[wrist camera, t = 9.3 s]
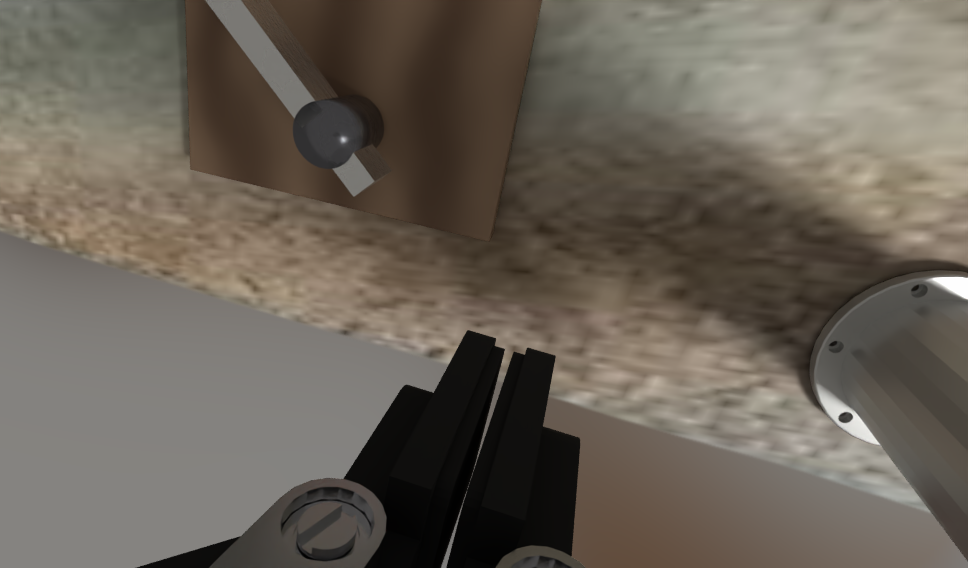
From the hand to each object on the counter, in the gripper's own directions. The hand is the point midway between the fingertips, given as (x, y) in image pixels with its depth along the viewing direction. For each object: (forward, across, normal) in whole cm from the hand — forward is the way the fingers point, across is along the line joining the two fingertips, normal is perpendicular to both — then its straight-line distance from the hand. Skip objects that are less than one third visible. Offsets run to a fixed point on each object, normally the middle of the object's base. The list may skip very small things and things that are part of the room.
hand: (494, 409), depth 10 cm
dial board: (+26, +15, -6) cm, 30 cm away
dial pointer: (+24, +17, -3) cm, 30 cm away
